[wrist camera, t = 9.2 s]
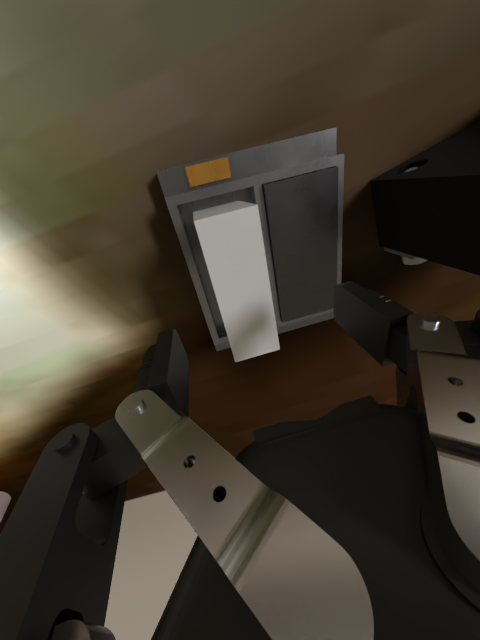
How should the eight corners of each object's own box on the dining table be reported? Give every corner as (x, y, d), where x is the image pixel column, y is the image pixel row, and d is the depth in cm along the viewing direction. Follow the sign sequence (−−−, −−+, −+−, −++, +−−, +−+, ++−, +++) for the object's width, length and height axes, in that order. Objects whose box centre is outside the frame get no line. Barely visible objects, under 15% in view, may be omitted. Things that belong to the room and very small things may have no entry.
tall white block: (193, 211, 17) (193, 221, 12) (238, 200, 17) (257, 204, 12) (225, 322, 22) (235, 362, 17) (259, 313, 22) (279, 349, 17)
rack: (158, 171, 17) (152, 168, 14) (327, 131, 17) (349, 121, 15) (215, 344, 25) (218, 361, 22) (329, 312, 25) (343, 325, 23)
